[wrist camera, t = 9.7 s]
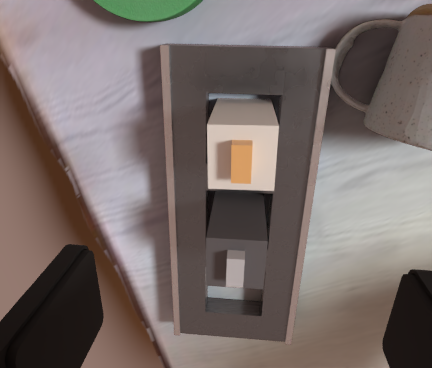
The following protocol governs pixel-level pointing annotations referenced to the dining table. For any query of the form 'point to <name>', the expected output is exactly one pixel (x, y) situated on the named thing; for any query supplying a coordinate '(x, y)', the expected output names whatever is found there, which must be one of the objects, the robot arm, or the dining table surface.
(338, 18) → the dining table surface
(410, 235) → the dining table surface
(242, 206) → the matte charcoal box
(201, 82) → the panel
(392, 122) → the ceramic mug
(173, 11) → the tape roll
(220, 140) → the white block orange tab
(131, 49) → the dining table surface
